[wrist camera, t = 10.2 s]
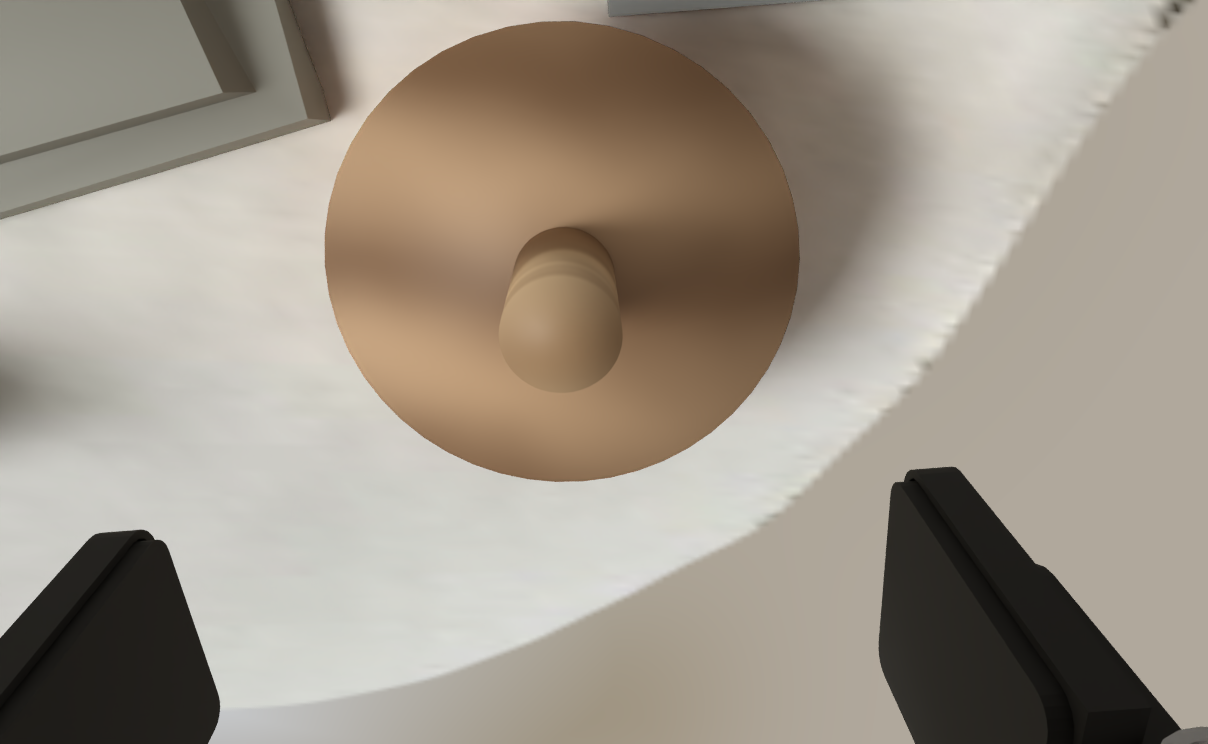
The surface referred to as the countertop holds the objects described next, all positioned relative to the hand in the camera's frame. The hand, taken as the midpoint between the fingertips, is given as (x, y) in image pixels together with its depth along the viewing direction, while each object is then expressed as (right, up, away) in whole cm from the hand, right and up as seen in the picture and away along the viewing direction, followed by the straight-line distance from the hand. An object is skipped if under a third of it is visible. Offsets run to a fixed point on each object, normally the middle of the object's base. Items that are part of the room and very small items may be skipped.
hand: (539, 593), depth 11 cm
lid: (0, +6, +15) cm, 16 cm away
